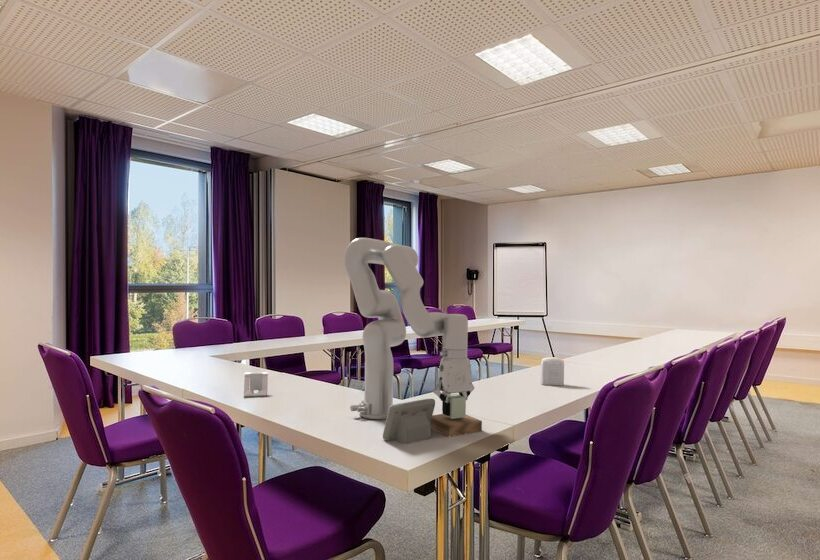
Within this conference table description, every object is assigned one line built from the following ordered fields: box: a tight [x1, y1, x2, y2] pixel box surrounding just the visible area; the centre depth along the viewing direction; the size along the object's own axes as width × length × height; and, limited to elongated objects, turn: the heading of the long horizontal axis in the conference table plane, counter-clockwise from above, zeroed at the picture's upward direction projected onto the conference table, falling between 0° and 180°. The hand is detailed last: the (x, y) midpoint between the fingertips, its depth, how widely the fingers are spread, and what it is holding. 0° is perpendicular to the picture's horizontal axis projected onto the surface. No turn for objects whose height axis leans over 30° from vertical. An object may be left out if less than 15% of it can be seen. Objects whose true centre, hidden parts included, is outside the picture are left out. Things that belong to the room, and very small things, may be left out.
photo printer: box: [540, 356, 565, 387], centre depth 215 cm, size 10×4×12 cm, turn 87°
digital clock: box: [382, 398, 436, 445], centre depth 136 cm, size 16×9×11 cm, turn 115°
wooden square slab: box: [430, 413, 483, 437], centre depth 146 cm, size 12×12×3 cm
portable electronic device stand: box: [243, 371, 269, 398], centre depth 186 cm, size 9×8×8 cm
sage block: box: [442, 393, 467, 419], centre depth 146 cm, size 5×5×6 cm
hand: (453, 413), depth 146 cm, fingers closed on sage block, 4 cm apart
